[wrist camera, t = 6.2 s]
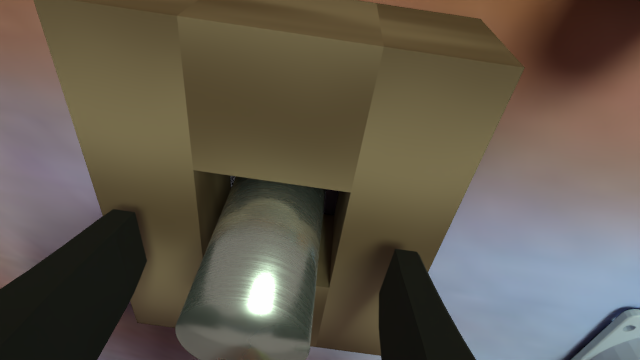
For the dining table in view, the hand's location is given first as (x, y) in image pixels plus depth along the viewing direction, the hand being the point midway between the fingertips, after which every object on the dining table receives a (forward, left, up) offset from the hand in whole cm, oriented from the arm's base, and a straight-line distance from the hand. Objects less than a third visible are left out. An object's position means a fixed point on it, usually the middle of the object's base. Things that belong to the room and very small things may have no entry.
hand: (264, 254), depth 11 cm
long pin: (0, 0, -4) cm, 4 cm away
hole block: (0, 0, -4) cm, 4 cm away
